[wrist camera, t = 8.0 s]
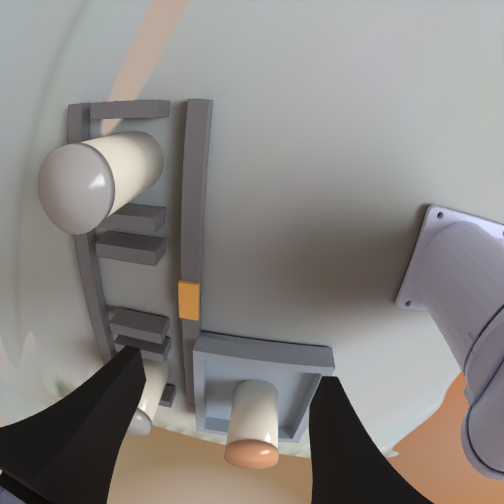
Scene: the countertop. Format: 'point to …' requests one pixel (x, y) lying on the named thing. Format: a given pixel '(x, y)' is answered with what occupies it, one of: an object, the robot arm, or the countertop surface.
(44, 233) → the countertop surface
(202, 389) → the tray
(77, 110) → the clip rail
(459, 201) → the countertop surface
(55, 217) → the cream capsule cylinder
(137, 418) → the fuse
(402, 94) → the countertop surface
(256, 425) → the cylinder
